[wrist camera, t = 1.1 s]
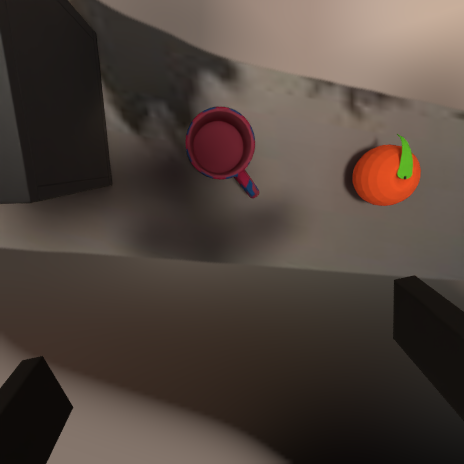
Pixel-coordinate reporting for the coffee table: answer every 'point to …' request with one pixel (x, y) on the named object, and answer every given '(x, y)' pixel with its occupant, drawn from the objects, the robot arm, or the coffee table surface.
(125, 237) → the coffee table surface
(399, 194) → the clementine
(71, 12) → the grey box
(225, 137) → the cup
